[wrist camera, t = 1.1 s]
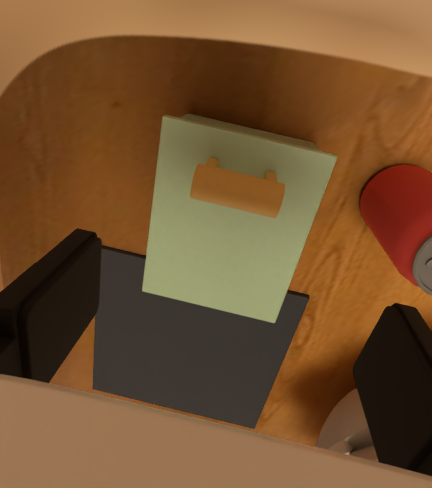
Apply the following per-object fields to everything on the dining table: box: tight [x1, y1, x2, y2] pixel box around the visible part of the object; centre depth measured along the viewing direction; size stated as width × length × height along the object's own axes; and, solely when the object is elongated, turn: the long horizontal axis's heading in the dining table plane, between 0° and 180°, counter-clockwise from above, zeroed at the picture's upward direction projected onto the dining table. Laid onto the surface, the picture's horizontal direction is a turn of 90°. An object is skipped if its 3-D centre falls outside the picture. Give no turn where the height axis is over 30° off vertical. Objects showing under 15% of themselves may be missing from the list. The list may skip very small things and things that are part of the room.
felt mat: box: [93, 246, 309, 429], centre depth 43 cm, size 24×24×1 cm
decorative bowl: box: [316, 389, 378, 462], centre depth 37 cm, size 30×30×15 cm
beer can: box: [360, 165, 432, 295], centre depth 26 cm, size 7×7×12 cm
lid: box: [142, 115, 337, 323], centre depth 23 cm, size 15×12×6 cm
